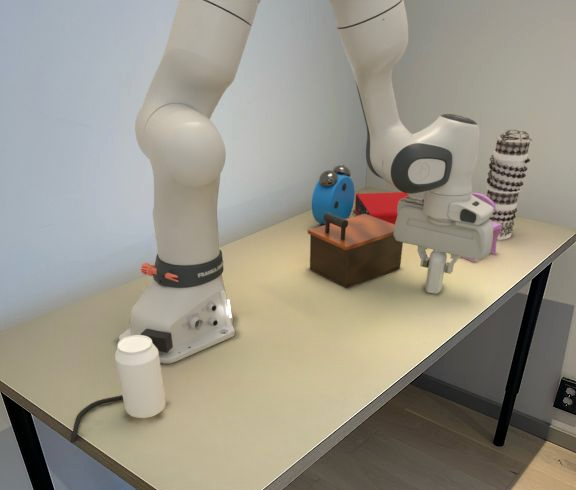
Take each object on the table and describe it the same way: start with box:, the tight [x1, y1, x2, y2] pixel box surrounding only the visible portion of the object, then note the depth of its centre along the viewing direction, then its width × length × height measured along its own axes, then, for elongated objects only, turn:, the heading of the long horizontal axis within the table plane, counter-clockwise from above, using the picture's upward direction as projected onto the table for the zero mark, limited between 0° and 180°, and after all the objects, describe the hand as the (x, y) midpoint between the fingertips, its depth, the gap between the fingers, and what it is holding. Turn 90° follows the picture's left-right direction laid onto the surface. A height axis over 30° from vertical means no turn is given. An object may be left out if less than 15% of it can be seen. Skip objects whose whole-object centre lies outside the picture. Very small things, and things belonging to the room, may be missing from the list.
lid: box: [307, 213, 395, 250], centre depth 128 cm, size 17×13×5 cm
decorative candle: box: [485, 129, 533, 241], centre depth 146 cm, size 9×9×25 cm
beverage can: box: [114, 335, 167, 419], centre depth 87 cm, size 6×6×12 cm
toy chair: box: [460, 192, 502, 263], centre depth 137 cm, size 8×9×15 cm
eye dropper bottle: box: [424, 249, 448, 295], centre depth 122 cm, size 4×6×12 cm
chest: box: [309, 234, 404, 289], centre depth 132 cm, size 17×13×9 cm
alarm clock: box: [311, 164, 356, 227], centre depth 154 cm, size 13×6×15 cm, turn 146°
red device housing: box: [354, 191, 411, 225], centre depth 160 cm, size 18×14×5 cm
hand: (436, 269), depth 123 cm, fingers closed on eye dropper bottle, 4 cm apart
